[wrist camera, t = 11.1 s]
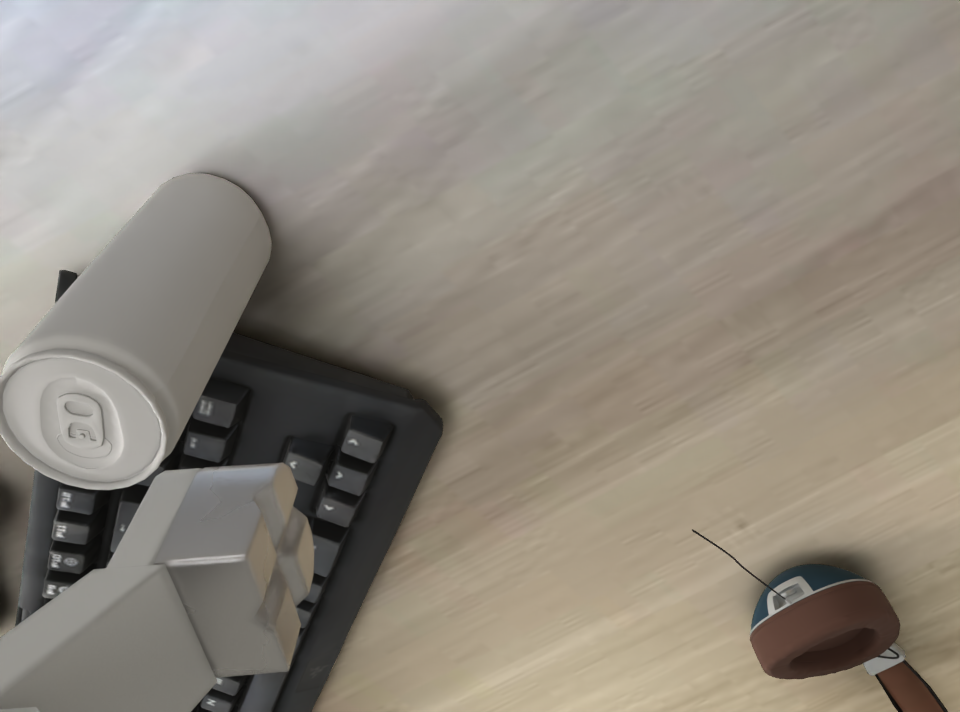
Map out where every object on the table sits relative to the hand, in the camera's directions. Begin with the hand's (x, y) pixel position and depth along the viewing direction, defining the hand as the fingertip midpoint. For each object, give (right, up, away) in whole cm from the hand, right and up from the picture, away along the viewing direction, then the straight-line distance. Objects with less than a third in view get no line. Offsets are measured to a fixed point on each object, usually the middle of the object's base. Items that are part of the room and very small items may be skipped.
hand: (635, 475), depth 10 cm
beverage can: (-12, +6, +23) cm, 27 cm away
